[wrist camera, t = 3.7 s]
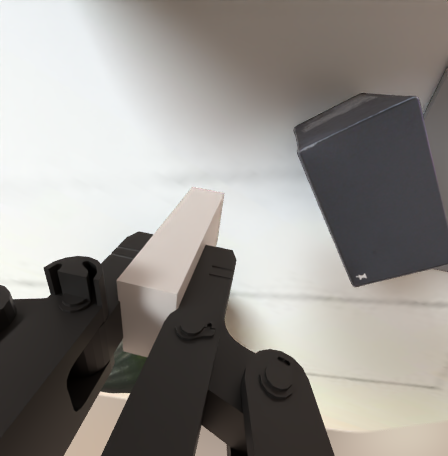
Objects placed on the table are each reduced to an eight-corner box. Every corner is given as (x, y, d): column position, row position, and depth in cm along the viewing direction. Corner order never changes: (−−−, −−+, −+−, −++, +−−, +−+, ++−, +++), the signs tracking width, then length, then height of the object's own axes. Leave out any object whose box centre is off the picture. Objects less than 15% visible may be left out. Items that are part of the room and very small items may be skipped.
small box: (401, 199, 24) (466, 266, 15) (330, 223, 27) (350, 292, 18) (368, 87, 21) (427, 90, 12) (290, 127, 23) (291, 154, 14)
